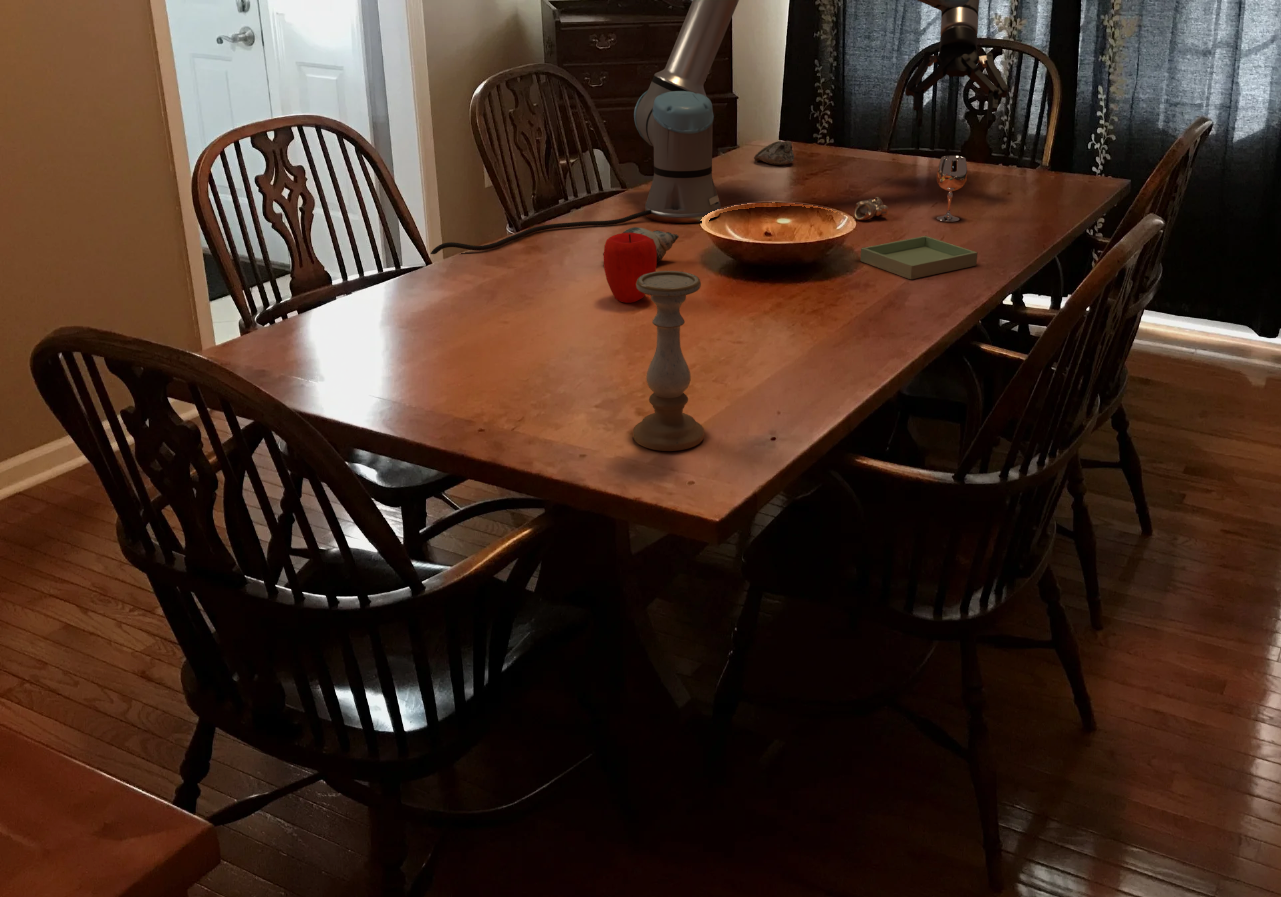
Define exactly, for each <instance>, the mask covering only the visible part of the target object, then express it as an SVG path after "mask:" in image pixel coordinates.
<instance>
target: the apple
mask: <svg viewBox="0 0 1281 897" xmlns="http://www.w3.org/2000/svg"><path fill="white" fill-rule="evenodd" d="M603 253H604V256H603V269H604V274H605V279H606V282H607V284H608V287H609V289H610V291H611V293H612V295H613V297H614V299H616V300H617V301H619V302H621V303H624V304H632V303H636V302H638V301H640V300H641V299H643V298H644V297H645V296H646V294H644V293H642V292H640V291H639V290H638V289H637V287H636V282H637V279H638V278H639V277H640V276H642V275H644V274H647V273H651V272H657V271H656V270H657V266H658V265H657V263H658V262H657V251H656V245H655V243H654V240H653V239H651V238H649V237H647V236H645V235H642V234H638V233H623V232H621V233H617V234H614V235H611V236H610V237H608V238H607V239H606V240H605V244H604V247H603Z"/></svg>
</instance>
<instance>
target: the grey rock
mask: <svg viewBox="0 0 1281 897" xmlns="http://www.w3.org/2000/svg"><path fill="white" fill-rule="evenodd" d="M753 159H754V161H755V162H759V161H762V162H764V163H766V164H768V165H769V164H770V165H773V166H782V165H788V164H791V163H793V161H794V160H795V154H794V150H793V145H792V141H791V140H785V141H781V140H779V141H775V142H774V141H773V142H772V143H770V144H768V145H766V146H765V147H763V148H762V149H760V150H759V151H758V152H757V153H756V154H755V155H754V157H753Z"/></svg>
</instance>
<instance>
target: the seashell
mask: <svg viewBox="0 0 1281 897" xmlns="http://www.w3.org/2000/svg"><path fill="white" fill-rule="evenodd" d="M622 233H638V234H642V235H645V236H647V237H649V238H651V239H653V240H654V243H655V245H656V251H657V263H659V262H661V261H662V260H663V258H664V257H665V255H666V254H667V251H669V250H671V249H672V247H673V244H675V243H676V241H677V240H678V239H679V235H678V234H676V233H672V232H668V231H667V232H665V231H662V230H653V231H652V230H650V229H647V228H644V227H637V226H636V227H635V226H634V227H630V228H628V229H626V230H624V231H623V232H622ZM602 256H603V257H604V252H602Z"/></svg>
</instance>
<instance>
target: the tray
mask: <svg viewBox="0 0 1281 897" xmlns="http://www.w3.org/2000/svg"><path fill="white" fill-rule="evenodd" d="M859 261H860V262H862V263H864V264H867V265H870V266H872V267H875V268H878V269H880V270H883V271H886V272H889V273H892V274H893V275H894V274H895V275H897V276H900V277H903V278H905V279H908V280H916V279H919V278H920V279H921V278H924V277H925V278H926V277H929V276H933V275H938V274H942V273H948V272H954V271H956V270H962V269H967V268H972V267H975V266H976V267H977V261H978V252H977V251H974V250H971V249H968V248H965V247H962V246H959V245H956V244H952V243H949V242H947V241H943V240H941V239H938V238H934V237H932V236H928V235H922V236H916V237H912V238H906V239H901V240H897V241H891V242H885V243H881V244H875V245H870V246H866V247H861V248H860V260H859Z"/></svg>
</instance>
